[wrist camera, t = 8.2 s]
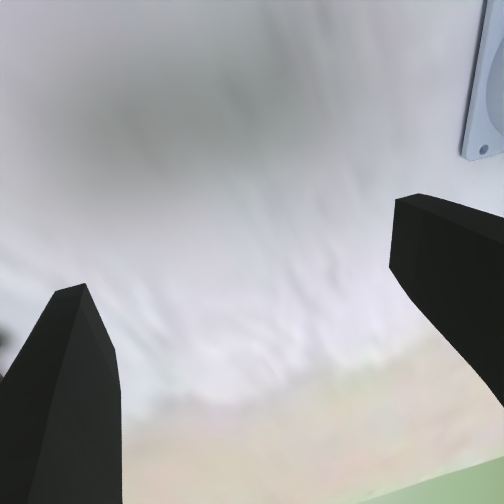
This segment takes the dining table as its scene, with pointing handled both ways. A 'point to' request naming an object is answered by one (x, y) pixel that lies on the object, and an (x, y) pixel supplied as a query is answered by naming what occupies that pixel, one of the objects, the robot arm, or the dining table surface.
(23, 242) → the dining table surface
